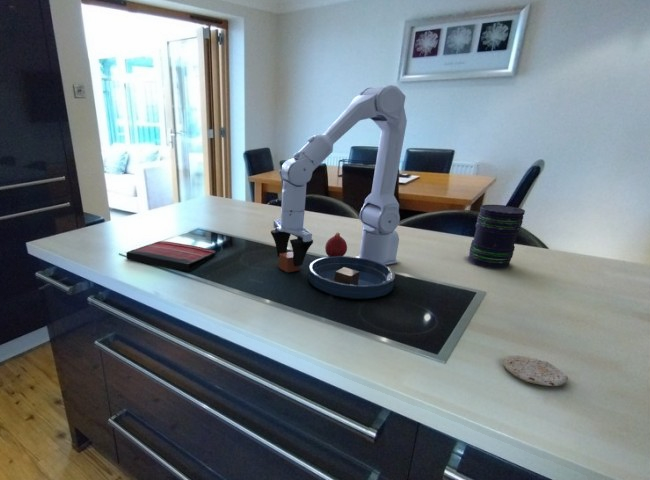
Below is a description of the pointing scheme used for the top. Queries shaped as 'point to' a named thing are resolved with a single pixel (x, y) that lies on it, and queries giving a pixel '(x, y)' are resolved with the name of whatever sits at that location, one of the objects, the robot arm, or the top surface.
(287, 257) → the terracotta block
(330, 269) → the bowl
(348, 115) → the robot arm
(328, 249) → the onion
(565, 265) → the top surface
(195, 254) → the binder
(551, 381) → the flatbread
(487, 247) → the storage jar
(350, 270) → the walnut block
